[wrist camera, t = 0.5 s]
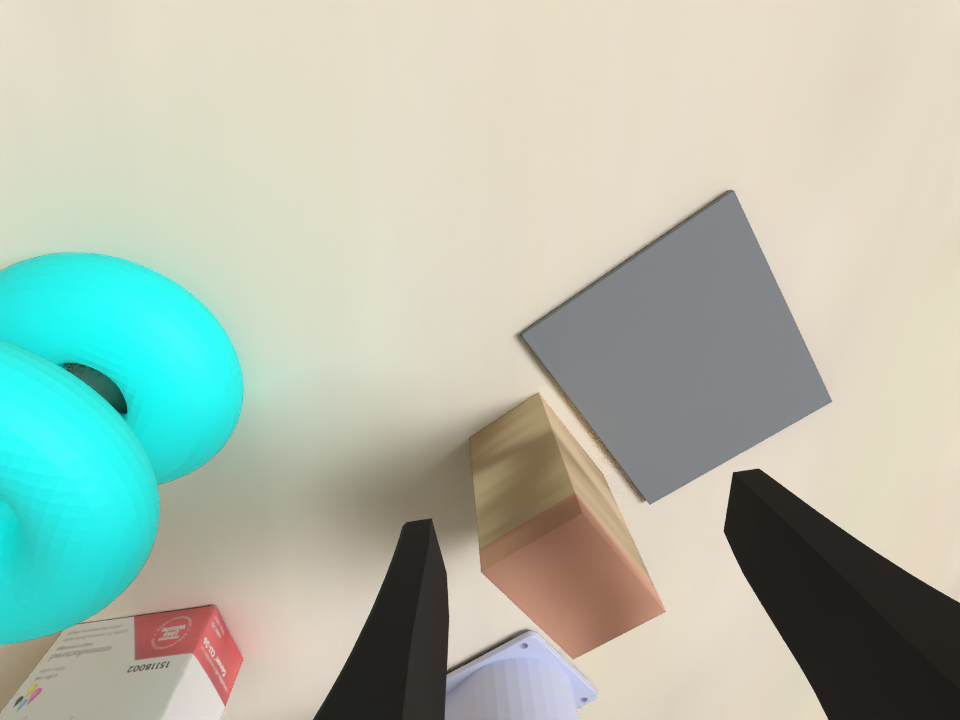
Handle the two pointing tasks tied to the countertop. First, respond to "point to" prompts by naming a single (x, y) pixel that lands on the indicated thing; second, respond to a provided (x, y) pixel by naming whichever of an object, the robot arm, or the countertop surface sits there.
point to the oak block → (556, 532)
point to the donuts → (97, 427)
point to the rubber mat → (683, 352)
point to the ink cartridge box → (134, 670)
